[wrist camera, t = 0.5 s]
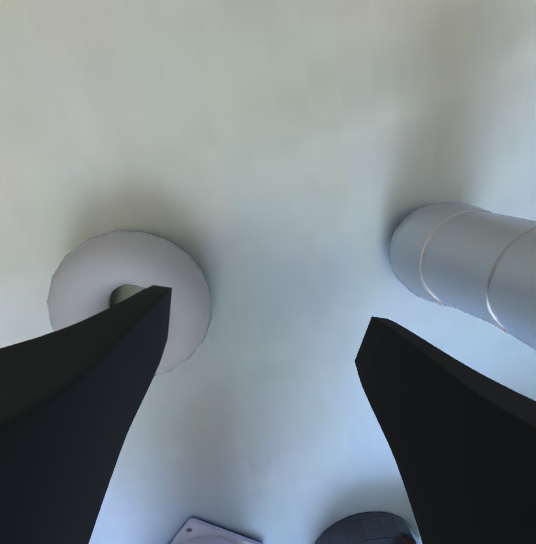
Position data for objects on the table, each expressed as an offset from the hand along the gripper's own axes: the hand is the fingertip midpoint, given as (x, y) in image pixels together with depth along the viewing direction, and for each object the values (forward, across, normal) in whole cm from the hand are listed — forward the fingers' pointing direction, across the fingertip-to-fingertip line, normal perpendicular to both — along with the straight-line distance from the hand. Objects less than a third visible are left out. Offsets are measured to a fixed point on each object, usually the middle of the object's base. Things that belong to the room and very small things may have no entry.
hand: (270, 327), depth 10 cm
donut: (+10, +7, +6) cm, 14 cm away
